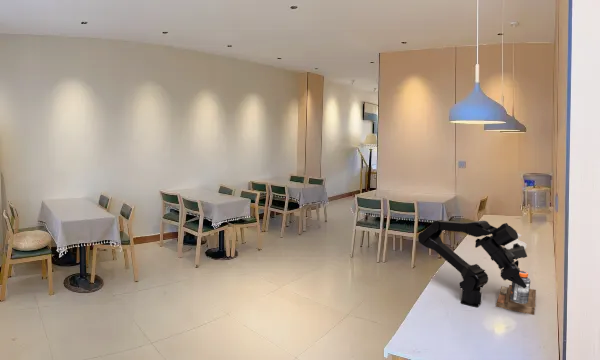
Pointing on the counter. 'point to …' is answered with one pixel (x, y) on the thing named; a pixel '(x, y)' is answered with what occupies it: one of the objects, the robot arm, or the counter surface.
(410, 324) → the counter surface
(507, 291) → the socket frame
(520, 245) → the white tied bag
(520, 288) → the pill bottle
